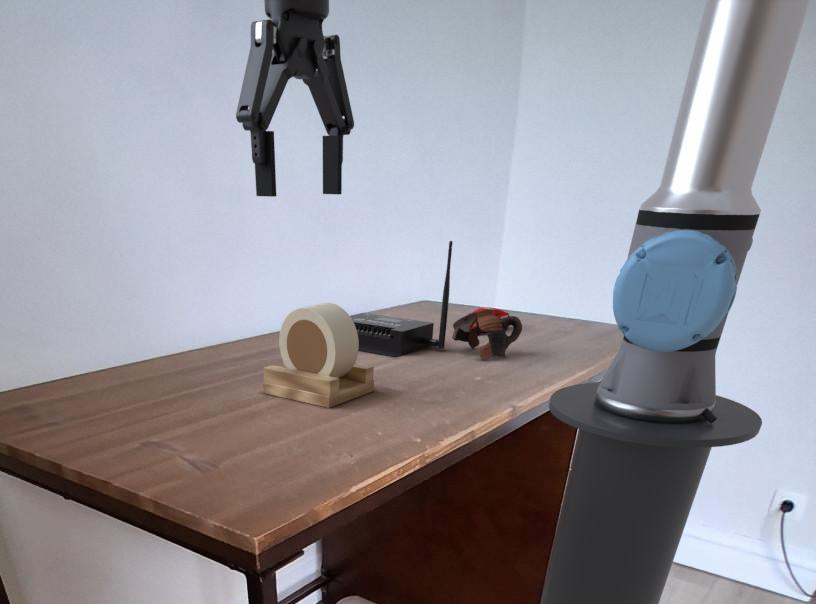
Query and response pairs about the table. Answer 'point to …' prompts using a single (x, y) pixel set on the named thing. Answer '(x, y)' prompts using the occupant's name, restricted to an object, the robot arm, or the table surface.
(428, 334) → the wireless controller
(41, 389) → the table surface
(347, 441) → the table surface
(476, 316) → the pottery mug
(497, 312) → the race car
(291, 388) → the tape holder
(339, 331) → the tape roll
